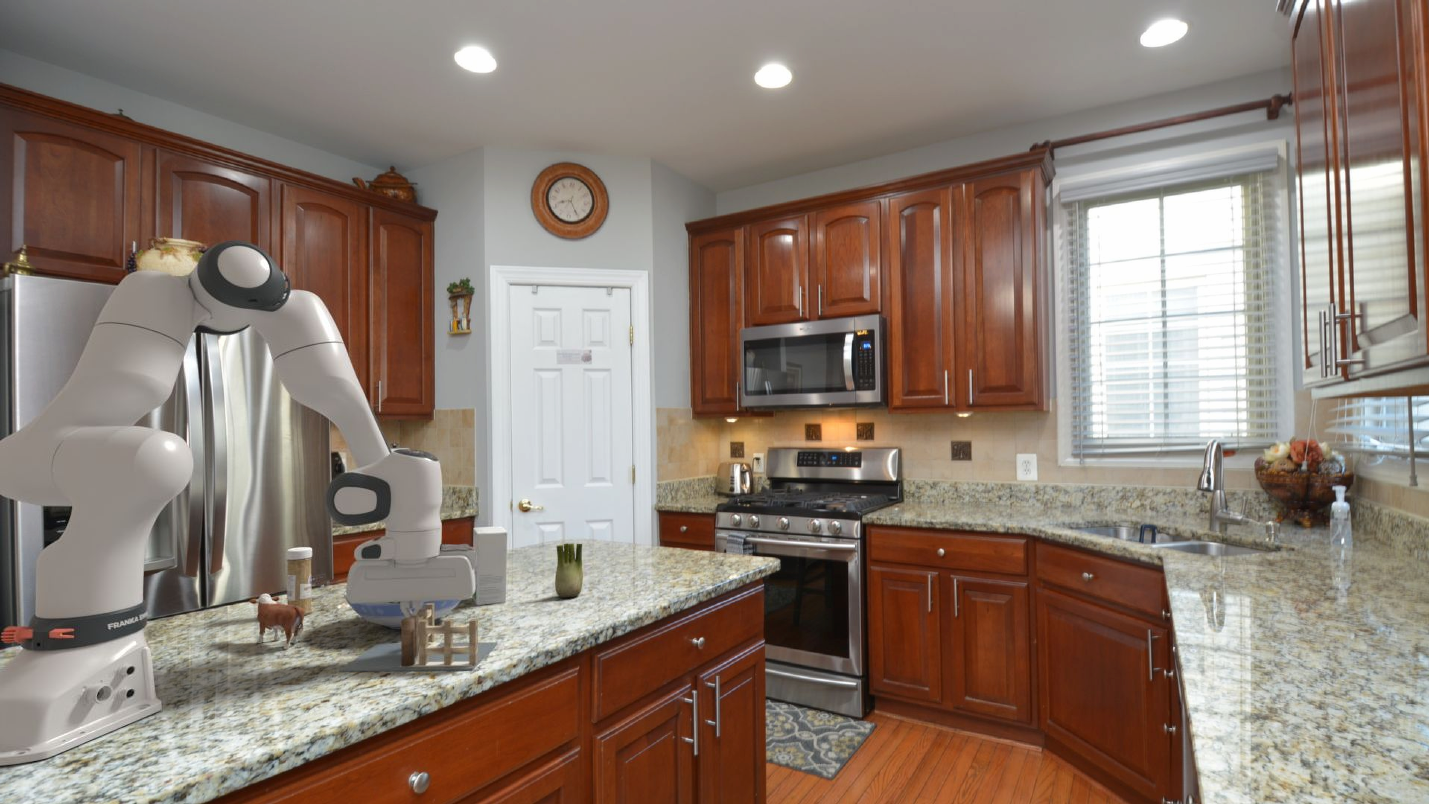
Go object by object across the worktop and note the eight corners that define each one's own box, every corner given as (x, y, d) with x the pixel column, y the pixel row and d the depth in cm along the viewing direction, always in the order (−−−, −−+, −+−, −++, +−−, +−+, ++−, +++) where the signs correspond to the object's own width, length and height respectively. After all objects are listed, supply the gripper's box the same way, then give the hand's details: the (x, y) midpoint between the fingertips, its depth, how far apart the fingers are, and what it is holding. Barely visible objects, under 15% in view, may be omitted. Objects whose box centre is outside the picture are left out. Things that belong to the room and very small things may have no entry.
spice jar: (312, 614, 145) (312, 548, 145) (286, 618, 142) (287, 551, 143) (310, 609, 149) (311, 545, 149) (285, 613, 146) (285, 547, 146)
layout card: (472, 670, 112) (472, 667, 112) (339, 671, 112) (339, 669, 112) (497, 643, 125) (497, 641, 125) (377, 645, 125) (377, 643, 125)
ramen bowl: (402, 604, 152) (402, 566, 153) (497, 610, 147) (497, 571, 147) (309, 639, 128) (309, 594, 128) (417, 648, 123) (417, 601, 123)
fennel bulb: (583, 594, 160) (583, 540, 161) (580, 599, 155) (580, 544, 156) (557, 594, 160) (557, 541, 160) (554, 600, 155) (553, 545, 155)
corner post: (411, 668, 113) (411, 621, 113) (399, 668, 113) (399, 621, 113) (416, 664, 115) (417, 617, 115) (404, 664, 115) (404, 617, 115)
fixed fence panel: (478, 662, 114) (477, 618, 114) (475, 665, 113) (475, 620, 113) (422, 663, 114) (422, 619, 114) (419, 665, 113) (419, 621, 113)
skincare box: (471, 597, 158) (471, 527, 158) (502, 594, 161) (502, 525, 161) (476, 606, 150) (476, 532, 151) (508, 602, 153) (508, 530, 154)
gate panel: (416, 657, 116) (416, 617, 116) (408, 657, 116) (408, 617, 116) (434, 640, 124) (434, 603, 125) (427, 640, 124) (427, 603, 124)
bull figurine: (269, 634, 132) (269, 590, 132) (310, 645, 125) (310, 599, 125) (243, 640, 128) (244, 595, 128) (284, 652, 121) (284, 604, 121)
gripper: (479, 540, 126) (478, 618, 125) (355, 543, 122) (353, 624, 121) (475, 546, 119) (473, 629, 119) (343, 549, 115) (341, 635, 115)
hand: (411, 626), depth 120 cm, fingers closed
